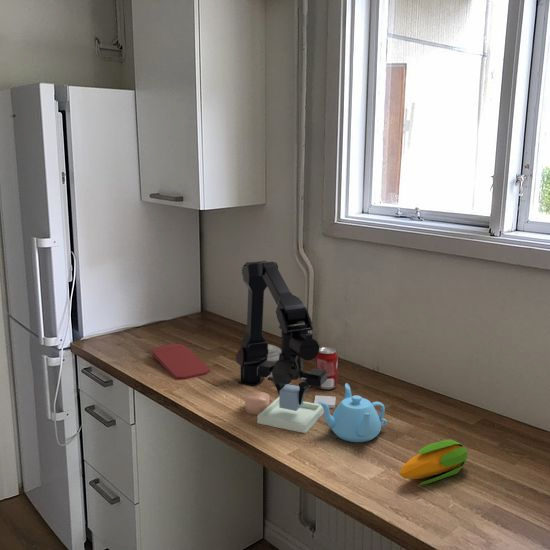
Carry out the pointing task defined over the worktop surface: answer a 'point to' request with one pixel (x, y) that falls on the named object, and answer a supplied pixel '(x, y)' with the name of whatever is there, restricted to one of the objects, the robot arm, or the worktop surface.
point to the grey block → (326, 400)
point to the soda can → (328, 366)
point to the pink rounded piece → (256, 402)
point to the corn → (435, 461)
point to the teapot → (355, 418)
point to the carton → (180, 361)
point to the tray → (291, 416)
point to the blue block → (289, 397)
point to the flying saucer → (273, 353)
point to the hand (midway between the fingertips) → (291, 402)
